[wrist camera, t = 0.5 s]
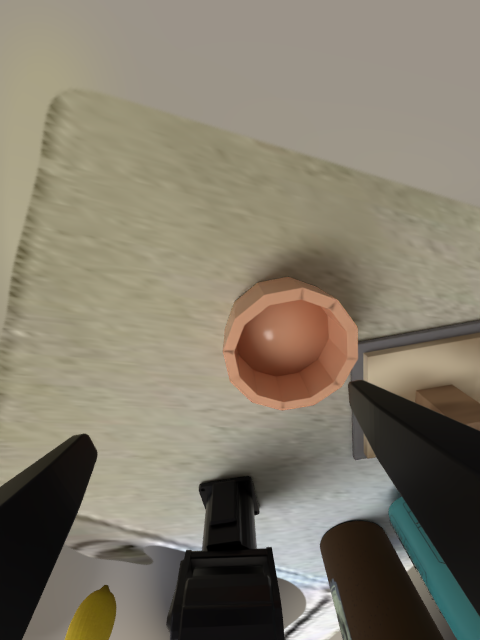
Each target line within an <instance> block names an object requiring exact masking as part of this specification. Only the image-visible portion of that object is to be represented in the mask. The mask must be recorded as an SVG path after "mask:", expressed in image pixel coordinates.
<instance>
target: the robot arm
mask: <svg viewBox="0 0 480 640" xmlns="http://www.w3.org/2000/svg"><path fill="white" fill-rule="evenodd" d="M348 388H349V402H350V406H351V409H352V411H353V413H354V415H355V417H356V419H357V421H358V423H359V425H360V427H361V429H362V431H363V433H364V435H365V436H366V438H367V440H368V442H369V444H370V446H371V448H372V450H373V452H374V454H375V455H376V457H377V459H378V460H379V462H380V464H381V465H382V467H383V468H384V470H385V471H386V473H387V474H388V476H389V477H390V479H391V481H392V482H393V484H394V485H395V487H396V488H397V490H398V491H399V493H400V494H401V496H402V498H403V499H404V501H405V502H406V504H407V505H408V507H409V508H410V510H411V511H412V513H413V515H414V516H415V518H416V519H417V521H418V522H419V524H420V525H421V527H422V528H423V530H424V532H425V533H426V535H427V536H428V538H429V539H430V541H431V542H432V544H433V545H434V547H435V549H436V550H437V552H438V553H439V555H440V556H441V558H442V559H443V561H444V563H445V564H446V566H447V567H448V569H449V570H450V572H451V573H452V575H453V576H454V578H455V580H456V581H457V583H458V584H459V586H460V587H461V589H462V590H463V592H464V593H465V595H466V597H467V598H468V600H469V601H470V603H471V604H472V606H473V607H474V609H475V610H476V612H477V614H478V615H479V617H480V431H479V430H477V429H475V428H472V427H470V426H468V425H466V424H463V423H461V422H459V421H456V420H454V419H452V418H449V417H447V416H445V415H443V414H440V413H438V412H436V411H433V410H431V409H429V408H426V407H424V406H422V405H420V404H417V403H415V402H413V401H410V400H408V399H406V398H404V397H401V396H399V395H397V394H394V393H392V392H390V391H387V390H385V389H383V388H381V387H378V386H376V385H374V384H371V383H369V382H367V381H364V380H355V381H351V382H349V385H348ZM96 460H97V450H96V448H95V446H94V444H93V442H92V441H91V439H90V437H89V435H87V434H79V435H75V436H72V437H71V438H69V439H68V440H66V441H65V442H63V443H62V444H61V445H59V446H58V447H56V448H55V449H53V450H52V451H51V452H49V453H48V454H46V455H45V456H44V457H42V458H41V459H39V460H38V461H36V462H35V463H34V464H32V465H31V466H29V467H28V468H26V469H25V470H24V471H22V472H21V473H19V474H18V475H16V476H15V477H14V478H12V479H11V480H9V481H8V482H7V483H5V484H4V485H2V486H1V487H0V640H22V638H23V636H24V634H25V632H26V629H27V627H28V625H29V622H30V620H31V618H32V615H33V613H34V611H35V609H36V607H37V604H38V602H39V600H40V597H41V595H42V593H43V590H44V588H45V586H46V583H47V581H48V579H49V577H50V575H51V572H52V570H53V568H54V565H55V563H56V561H57V559H58V556H59V554H60V552H61V550H62V547H63V545H64V543H65V540H66V538H67V536H68V534H69V531H70V529H71V527H72V524H73V522H74V520H75V518H76V515H77V513H78V510H79V508H80V505H81V503H82V500H83V497H84V494H85V491H86V488H87V486H88V483H89V480H90V477H91V474H92V471H93V468H94V465H95V463H96ZM199 493H200V495H201V498H202V501H203V504H204V506H205V509H206V514H205V524H204V535H203V545H202V551H192V550H186V553H185V558H184V560H182V561H181V563H180V569H179V575H178V581H177V585H176V589H175V593H174V596H173V599H172V603H171V606H170V610H169V613H168V617H167V624H166V625H167V628H168V630H169V632H170V640H284V627H283V616H282V607H281V600H280V593H279V587H278V581H277V576H276V570H275V564H274V558H273V552H272V547H266V549H257V545H256V532H255V519H254V515H258V514H259V506H258V501H257V497H256V493H255V489H254V485H253V481H252V478H251V477H249V476H247V477H241V478H235V479H228V480H222V481H216V482H210V483H204V484H200V485H199Z"/></svg>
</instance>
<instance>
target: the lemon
mask: <svg viewBox="0 0 480 640" xmlns="http://www.w3.org/2000/svg"><path fill="white" fill-rule="evenodd" d="M115 616H116V601H115V597H114V595H113V594H112V593H111V592H110V590H109V587H108V585H104V586H103V587H102V588H101V589H100V590H97V591H94V592H93V593H91V594H90V595H89V596H88V597H87V598H86V599H85V600H84V601H83V602H82V603H81V605H80V606H79V608H78V609H77V611H76V613H75V615H74V617H73V619H72V621H71V623H70V626H69V628H68V632H67V634H66V638H65V640H109V637H110V635H111V632H112V629H113V625H114V621H115Z"/></svg>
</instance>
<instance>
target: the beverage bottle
mask: <svg viewBox="0 0 480 640" xmlns="http://www.w3.org/2000/svg"><path fill="white" fill-rule="evenodd" d="M388 514H389V518H390V521H391V523H392V526H393V527H392V528H393V529H395V530H396V531H395V532H396V534H397V535H398V536H399V537H398V536H397V537H398V538H399V540H400V539H401V540H400V541H401V543H402V546H403V547H404V546H405V547H404V549H405V548H406V549H405V550H407V551H406V552H407V555H408V556H409V555H410V556H409V558H410V557H411V558H410V559H412V560H411V561H412V563H413V565H414V564H415V565H414V567H415V566H416V567H415V568H416V569H417V570H418V571H419V573H420V575H421V578H422V579H423V580H424V582H425V584H426V586H427V587H428V590H429V591H430V594H431V595H432V596H433V598H434V600H435V602H436V604H437V605H438V607H439V609H440V611H441V612H442V614H443V616H444V618H445V619H446V620H447V622H448V624H449V626H450V628H451V629H452V631H453V633H454V635H455V637H456V638H457V640H480V617H479V615H478V614H477V612H476V610H475V609H474V607H473V606H472V604H471V603H470V601H469V600H468V598H467V597H466V595H465V593H464V592H463V590H462V589H461V587H460V586H459V584H458V583H457V581H456V580H455V578H454V576H453V575H452V573H451V572H450V570H449V569H448V567H447V566H446V564H445V563H444V561H443V559H442V558H441V556H440V555H439V553H438V552H437V550H436V549H435V547H434V545H433V544H432V542H431V541H430V539H429V538H428V536H427V535H426V533H425V532H424V530H423V528H422V527H421V525H420V524H419V522H418V521H417V519H416V518H415V516H414V515H413V513H412V511H411V510H410V508H409V507H408V505H407V504H406V502H405V501H404V499H403V498H402V497H400V498H398V499H397V500H395V501H394V502H393V503H392V504H391V506H390V508H389V511H388ZM391 523H390V524H391Z"/></svg>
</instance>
